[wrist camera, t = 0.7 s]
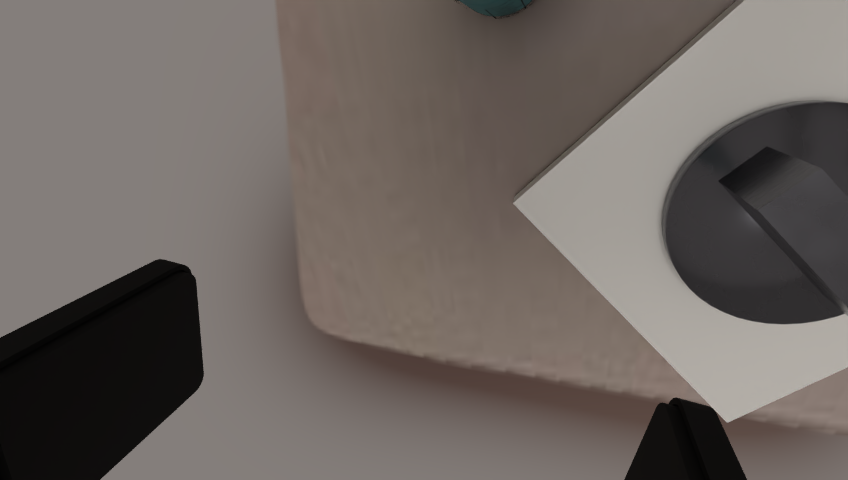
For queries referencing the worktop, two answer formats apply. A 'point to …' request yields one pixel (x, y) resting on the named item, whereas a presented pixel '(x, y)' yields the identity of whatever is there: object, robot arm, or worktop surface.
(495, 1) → the beverage bottle
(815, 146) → the dial
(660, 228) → the dial plate
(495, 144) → the worktop surface
